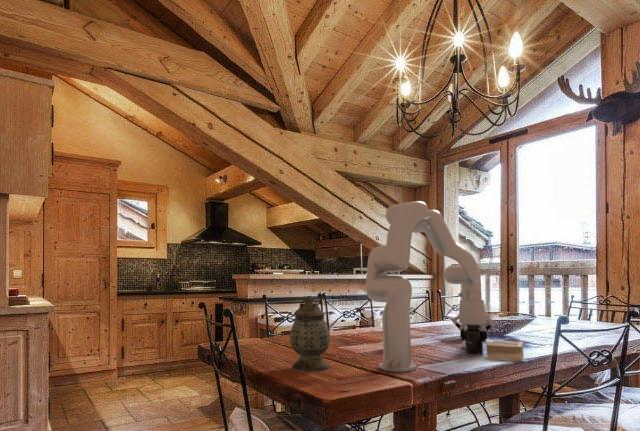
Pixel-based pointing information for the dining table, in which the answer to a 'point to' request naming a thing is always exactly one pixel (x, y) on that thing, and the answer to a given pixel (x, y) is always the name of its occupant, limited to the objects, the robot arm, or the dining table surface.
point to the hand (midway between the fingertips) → (473, 340)
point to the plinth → (505, 350)
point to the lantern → (309, 337)
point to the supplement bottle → (473, 340)
